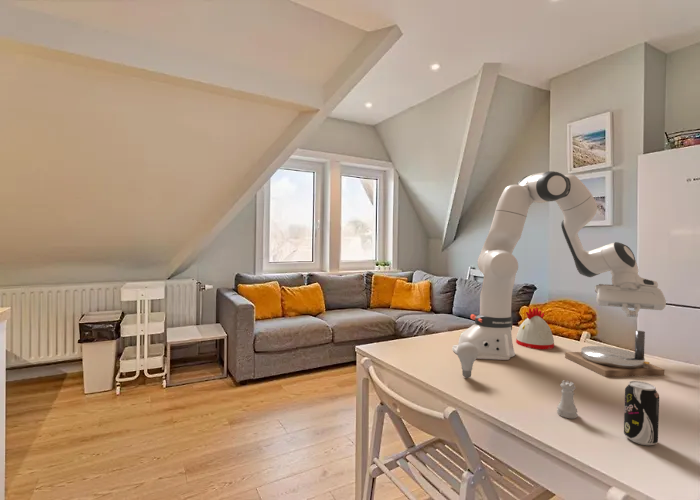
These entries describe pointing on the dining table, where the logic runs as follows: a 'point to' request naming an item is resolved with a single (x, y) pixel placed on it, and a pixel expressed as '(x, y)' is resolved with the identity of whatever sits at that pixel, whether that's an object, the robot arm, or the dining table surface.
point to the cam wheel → (618, 354)
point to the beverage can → (641, 413)
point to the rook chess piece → (567, 401)
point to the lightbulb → (467, 357)
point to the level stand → (614, 371)
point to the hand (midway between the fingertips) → (632, 316)
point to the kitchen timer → (535, 332)
